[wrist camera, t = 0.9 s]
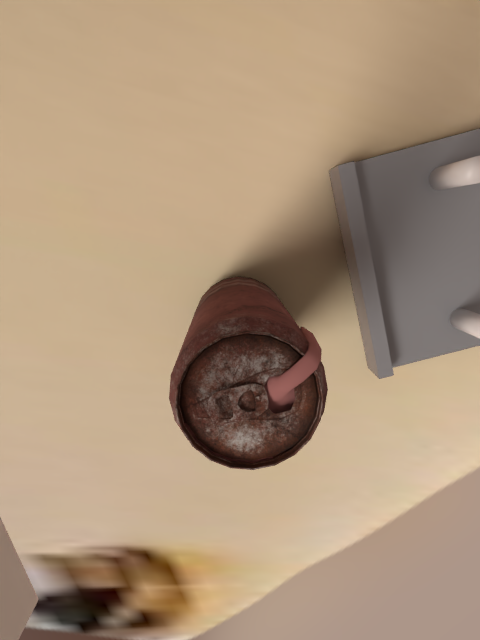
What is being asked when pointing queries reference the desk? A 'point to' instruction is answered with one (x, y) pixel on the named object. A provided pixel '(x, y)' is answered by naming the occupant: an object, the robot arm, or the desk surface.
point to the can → (247, 378)
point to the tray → (413, 249)
